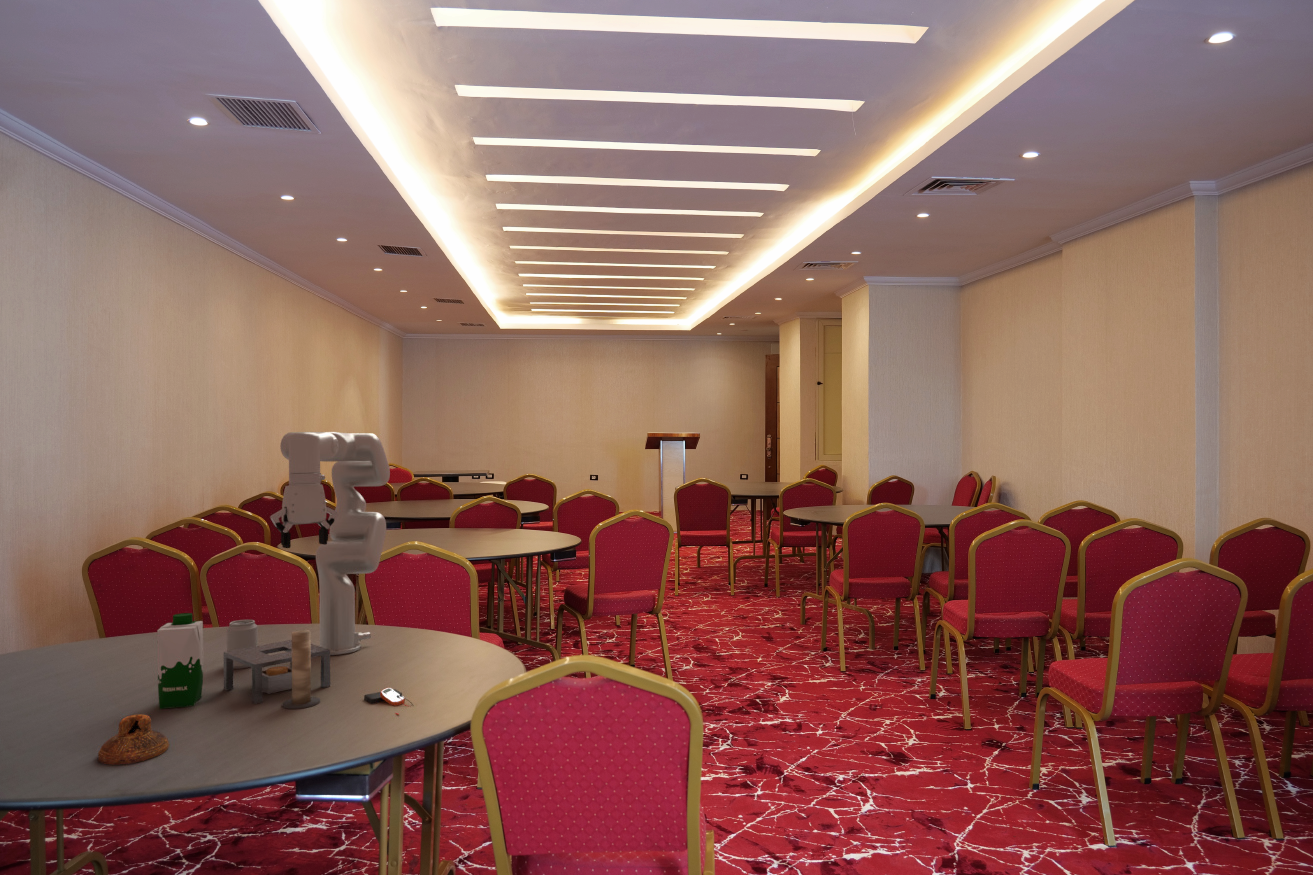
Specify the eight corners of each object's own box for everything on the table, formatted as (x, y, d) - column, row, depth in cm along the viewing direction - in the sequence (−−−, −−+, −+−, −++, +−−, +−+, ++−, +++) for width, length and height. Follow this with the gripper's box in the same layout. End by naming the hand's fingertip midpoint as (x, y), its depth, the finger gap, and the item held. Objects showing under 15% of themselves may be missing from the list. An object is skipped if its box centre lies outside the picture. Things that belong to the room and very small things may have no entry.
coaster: (310, 695, 197) (310, 694, 197) (326, 702, 191) (326, 700, 192) (276, 704, 191) (276, 702, 191) (291, 711, 186) (291, 709, 186)
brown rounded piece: (181, 742, 167) (181, 706, 167) (146, 765, 155) (146, 726, 155) (121, 743, 167) (121, 707, 167) (82, 767, 155) (82, 727, 155)
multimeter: (440, 710, 187) (440, 695, 187) (386, 721, 180) (386, 705, 180) (413, 691, 201) (413, 677, 201) (363, 701, 195) (363, 686, 195)
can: (263, 662, 228) (263, 618, 228) (247, 669, 221) (247, 624, 221) (237, 661, 229) (237, 618, 229) (220, 669, 221) (220, 624, 222)
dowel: (305, 697, 194) (305, 629, 194) (314, 701, 191) (313, 631, 192) (288, 701, 191) (288, 632, 191) (296, 705, 188) (296, 634, 189)
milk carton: (206, 695, 198) (206, 611, 198) (196, 707, 189) (196, 619, 189) (165, 698, 196) (164, 613, 196) (153, 710, 187) (152, 621, 187)
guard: (296, 673, 217) (296, 638, 217) (330, 686, 205) (329, 649, 205) (223, 688, 203) (223, 651, 203) (255, 703, 191) (255, 664, 191)
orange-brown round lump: (282, 682, 207) (282, 665, 207) (291, 686, 204) (291, 668, 204) (262, 687, 204) (262, 669, 204) (271, 690, 201) (271, 672, 201)
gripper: (329, 478, 225) (329, 541, 225) (264, 480, 212) (264, 548, 212) (343, 479, 220) (343, 543, 220) (277, 481, 207) (278, 550, 207)
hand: (305, 545), depth 216 cm, fingers open, 9 cm apart
